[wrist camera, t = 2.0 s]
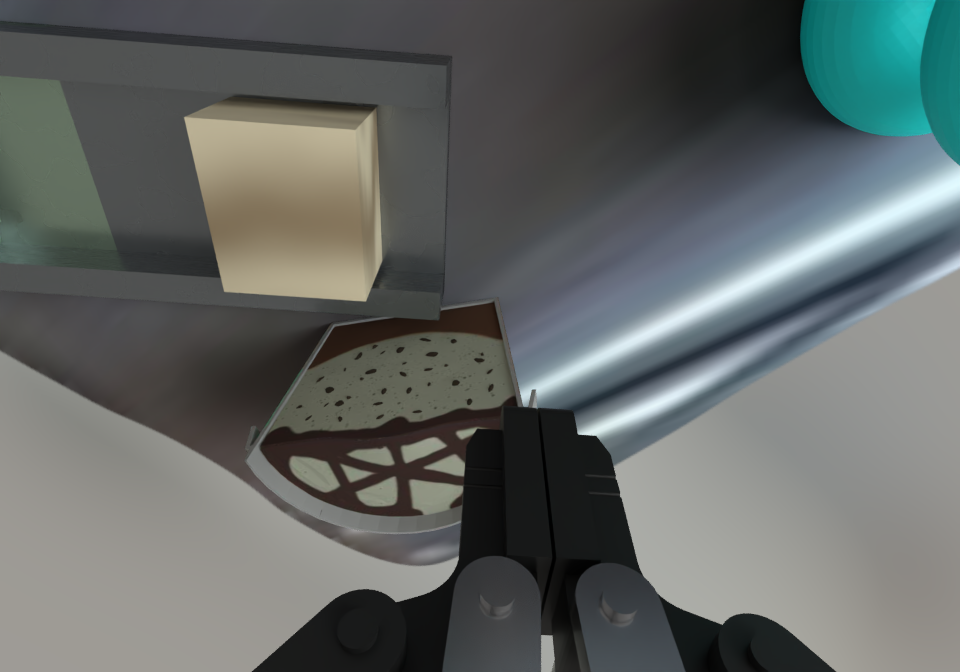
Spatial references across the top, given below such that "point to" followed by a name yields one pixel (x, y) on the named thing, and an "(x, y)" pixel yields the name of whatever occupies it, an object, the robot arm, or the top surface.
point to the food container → (388, 418)
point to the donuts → (887, 65)
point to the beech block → (290, 195)
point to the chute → (171, 169)
